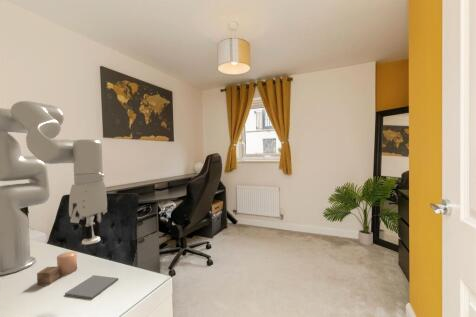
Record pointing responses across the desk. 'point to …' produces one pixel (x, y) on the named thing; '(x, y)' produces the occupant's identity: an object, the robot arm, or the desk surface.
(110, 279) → the coaster
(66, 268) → the peach rounded dome
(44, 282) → the walnut block
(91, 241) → the chess piece
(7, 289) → the desk surface
